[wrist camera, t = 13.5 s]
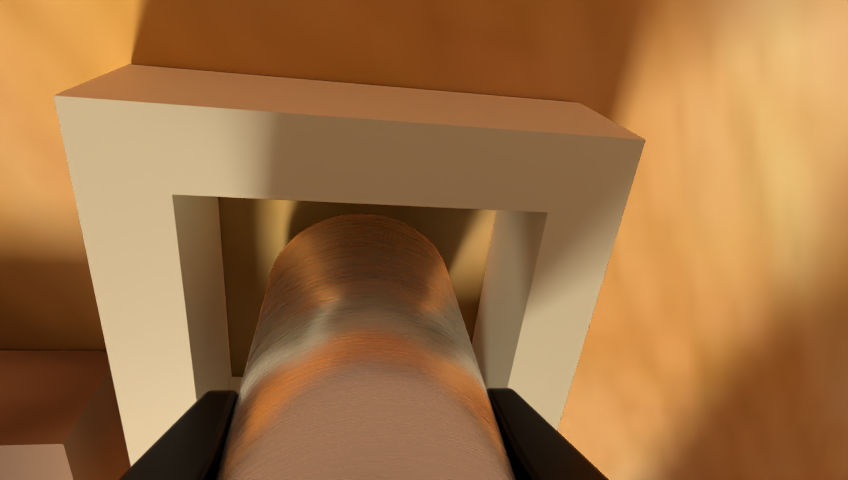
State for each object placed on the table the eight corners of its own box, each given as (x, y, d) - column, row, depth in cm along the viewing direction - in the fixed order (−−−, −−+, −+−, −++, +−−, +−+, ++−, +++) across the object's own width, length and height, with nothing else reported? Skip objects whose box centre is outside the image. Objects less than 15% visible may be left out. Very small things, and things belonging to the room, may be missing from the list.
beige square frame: (579, 102, 10) (645, 139, 8) (505, 412, 13) (536, 498, 11) (129, 63, 9) (53, 95, 6) (179, 418, 12) (141, 516, 10)
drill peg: (460, 217, 10) (741, 832, 3) (438, 366, 11) (579, 994, 4) (265, 208, 9) (-1, 949, 2) (270, 365, 11) (121, 1089, 4)
